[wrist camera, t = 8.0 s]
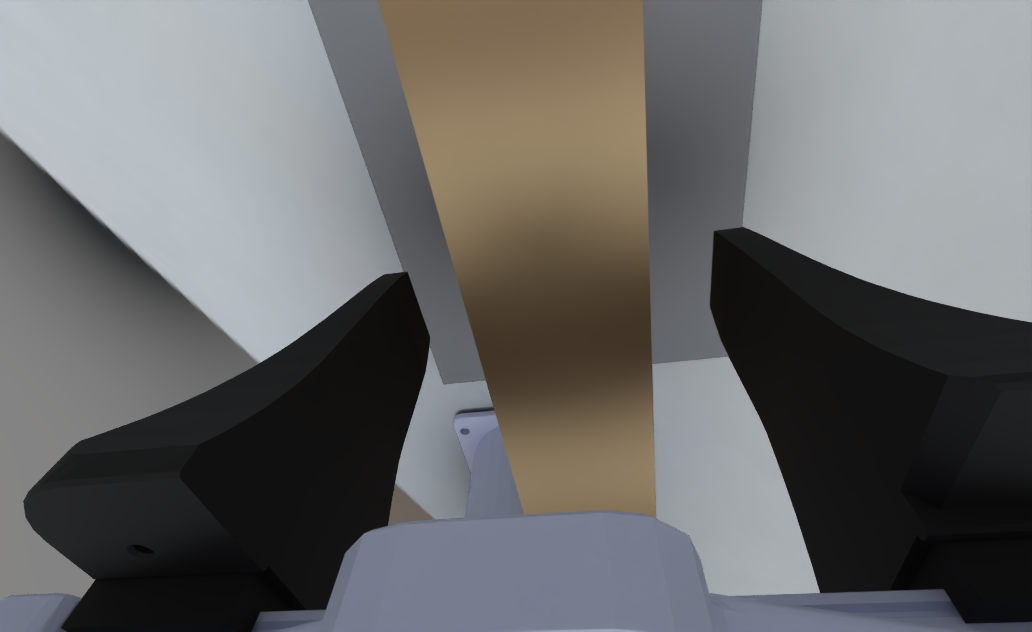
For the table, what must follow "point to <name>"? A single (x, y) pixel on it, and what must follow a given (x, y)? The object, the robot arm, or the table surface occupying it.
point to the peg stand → (670, 164)
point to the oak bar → (545, 227)
